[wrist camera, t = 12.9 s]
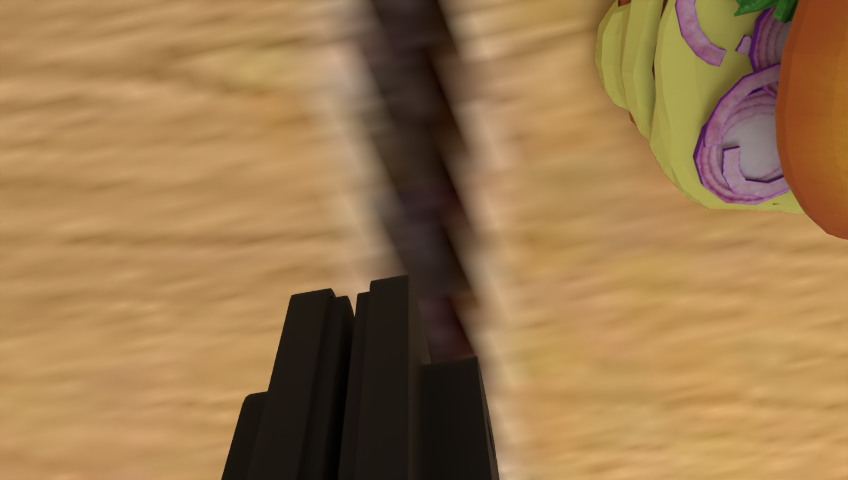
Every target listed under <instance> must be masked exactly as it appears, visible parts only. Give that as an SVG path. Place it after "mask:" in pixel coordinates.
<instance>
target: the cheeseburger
mask: <svg viewBox="0 0 848 480" xmlns="http://www.w3.org/2000/svg"><path fill="white" fill-rule="evenodd" d="M594 59H595V62H596V66H597V70H598V73H599V77H600V80H601V84H602V87H603V89H604V90H605V91H606V93H607V94H608V95H609V97H610V98H611V99H612V101H613V102H614V103H615V105H617V106H619V107H621V108H623V109H626V110H628V111H629V115H630V118H631V121H632V122H633V123H634V124H635V125H636V126H637V128H638V130H639V132H640V133H641V134H642V135H643V136H644V137H645V138H646V139H647V140H648V141H649V142H650V148H651V150H652V152H653V154H654V156H655V158H656V159H657V161H658V163H659V165H660V167H661V169H662V170H663V171H664V173H665V174H666V175H667V176H668V178H669V179H670V180H671V181H672V183H673V184H674V185H675V186H676V187H677V188H678V189H679V190H680V191H681V192H682V193H683V195H684V196H685V197H686V198H688V199H690V200H692V201H694V202H696V203H698V204H700V205H702V206H704V207H706V208H709V209H740V210H771V211H783V212H792V213H801V214H807V215H808V216H809V217H810V218H811V219H812V220H813V221H814V222H815V223H816V224H817V225H818V226H820V227H821V228H822V229H823V230H824V231H825V232H826V233H827V234H830V235H833V236H836V237H838V238H841V239H847V240H848V0H616V1H615V2H614V3H613V5H612V6H611V8H610V9H609V11H608V12H607V14H606V15H605V17H604V18H603V19H602V21H601V22H600V24H599V28H598V35H597V42H596V49H595V57H594Z"/></svg>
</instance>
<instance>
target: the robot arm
mask: <svg viewBox="0 0 848 480" xmlns="http://www.w3.org/2000/svg"><path fill="white" fill-rule="evenodd" d="M221 480H499V473H498V466H497V459H496V452H495V445H494V439H493V433H492V427H491V422H490V416H489V410H488V405H487V400H486V395H485V390H484V385H483V380H482V375H481V370H480V365H479V361H478V358H477V356H474V357H469V358H463V359H457V360H451V361H445V362H439V363H433V364H431V359H430V355H429V351H428V346H427V342H426V338H425V334H424V329H423V325H422V321H421V316H420V312H419V308H418V303H417V299H416V295H415V291H414V286H413V283H412V279H411V276H410V275H409V274H408V275H402V276H396V277H391V278H385V279H379V280H374V281H371V283H370V292H364V293H359V294H358V295H357V302H356V312H355V316H354V313H353V309H352V306H351V303H350V300H349V298H348V296H341V297H336V296H335V294H334V292H333V290H332V289H331V288H328V289H323V290H317V291H311V292H306V293H300V294H294V295H292V296H291V298H290V302H289V306H288V310H287V314H286V318H285V322H284V327H283V331H282V335H281V339H280V343H279V347H278V351H277V355H276V359H275V363H274V367H273V372H272V376H271V380H270V384H269V388H268V391H266V392H260V393H254V394H250V395H248V396H247V397H246V398H245V400H244V402H243V405H242V408H241V411H240V415H239V419H238V422H237V426H236V429H235V433H234V436H233V440H232V443H231V447H230V450H229V454H228V458H227V461H226V465H225V468H224V472H223V475H222V479H221Z"/></svg>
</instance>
